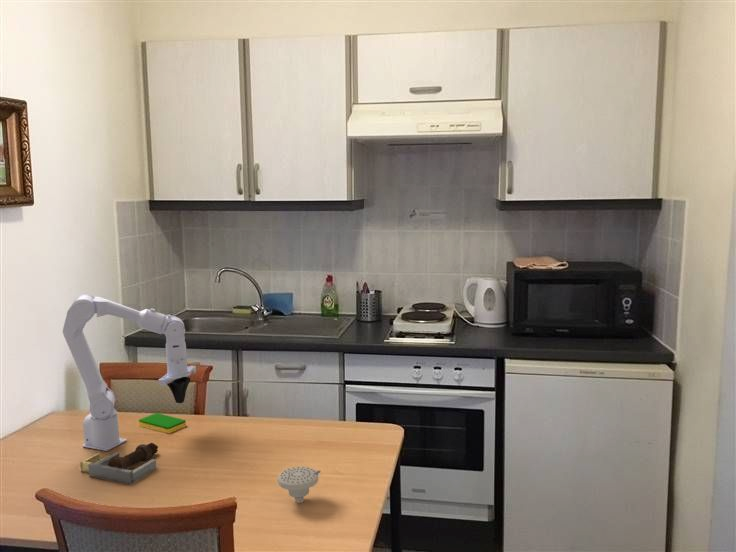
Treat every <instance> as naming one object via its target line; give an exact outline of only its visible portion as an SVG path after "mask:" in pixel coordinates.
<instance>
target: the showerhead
mask: <svg viewBox="0 0 736 552" xmlns="http://www.w3.org/2000/svg"><path fill="white" fill-rule="evenodd" d="M321 472H322V471H321V470H319V469H317V470H316V469H314V468H311V467H308V466H307V467H306V466H296V467H294V466H293V467H291V468H287V469H284V470H283V471H281V472H280V473H279V474H278V476H277V484H278V485H279V487H281V488H282V489H285V490H288V491H287V492H288V495H289V496H290V497H293V498H294V503H295V504H296V503H297V504H301V503H303V502H305V496H307V495H309V493H310V488H312V487H314V486H315V485H316V484H318V482H319V474H320V473H321Z"/></svg>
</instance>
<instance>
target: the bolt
mask: <svg viewBox="0 0 736 552" xmlns="http://www.w3.org/2000/svg"><path fill="white" fill-rule="evenodd" d="M158 451H159V446H158V445H157V444H156V443H153V442H150V443H148V444H142V443H140V444H139V445H137V446H136V448H135V449H134V451H132V452H130V453H128V454H126V455H124V456H113V457H111V459H110V460H109V462H108V466H111V467H116V468H121V469H127V470H129V468H131V467H132V466H134V465H136V464H138V463H140V462H142V461H146V462H148V461H150V460H151V458H152V455H153V456H154V455H155V454H157V453H158ZM149 459H150V460H149ZM147 460H148V461H147Z"/></svg>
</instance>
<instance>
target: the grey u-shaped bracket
mask: <svg viewBox="0 0 736 552" xmlns="http://www.w3.org/2000/svg"><path fill="white" fill-rule="evenodd" d="M113 456H120V453H119V452H115V453H112V454H110V457H108V458H106V459H103V458H102V459H103V461H101V462H99V463H97V464H96V463H90V464H88V468H89V473H88V477H90V476H91V478H95V477H96V478H97V479H100V478H101V479H102V480H105V481H110V482H114V483H115V482H116V483H121V484H125V485H130V486H131V485H132V484H134V483H136V482H137V481H139V480H141V479H142V478H144V477H146V476H148V475H149V474H150V472H151V473H152V472H154V471H155V469H156V470H157V459H154V458H153V459H150V460H148V461H146V462H144V463H143V464H142V465H140V466H138V467H136V468H135V469H133V470H132V469H121V468H116V467H111V466H108V462H109V460H110V459H111V457H113ZM120 457H121V456H120ZM153 470H154V471H153ZM145 475H146V476H145ZM140 478H141V479H140Z"/></svg>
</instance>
